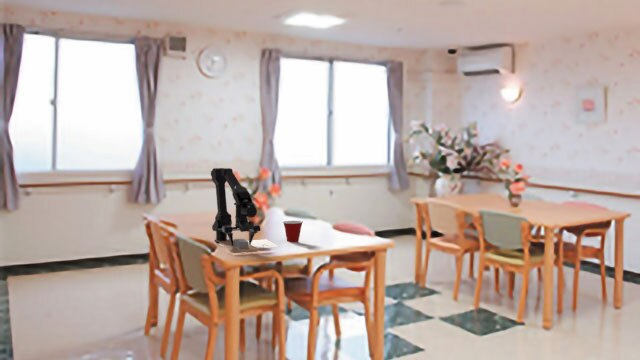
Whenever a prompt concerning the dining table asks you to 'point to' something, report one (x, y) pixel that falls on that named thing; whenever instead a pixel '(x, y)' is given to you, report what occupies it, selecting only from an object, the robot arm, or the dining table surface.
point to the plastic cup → (292, 230)
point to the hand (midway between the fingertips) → (241, 245)
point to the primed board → (262, 243)
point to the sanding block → (240, 243)
